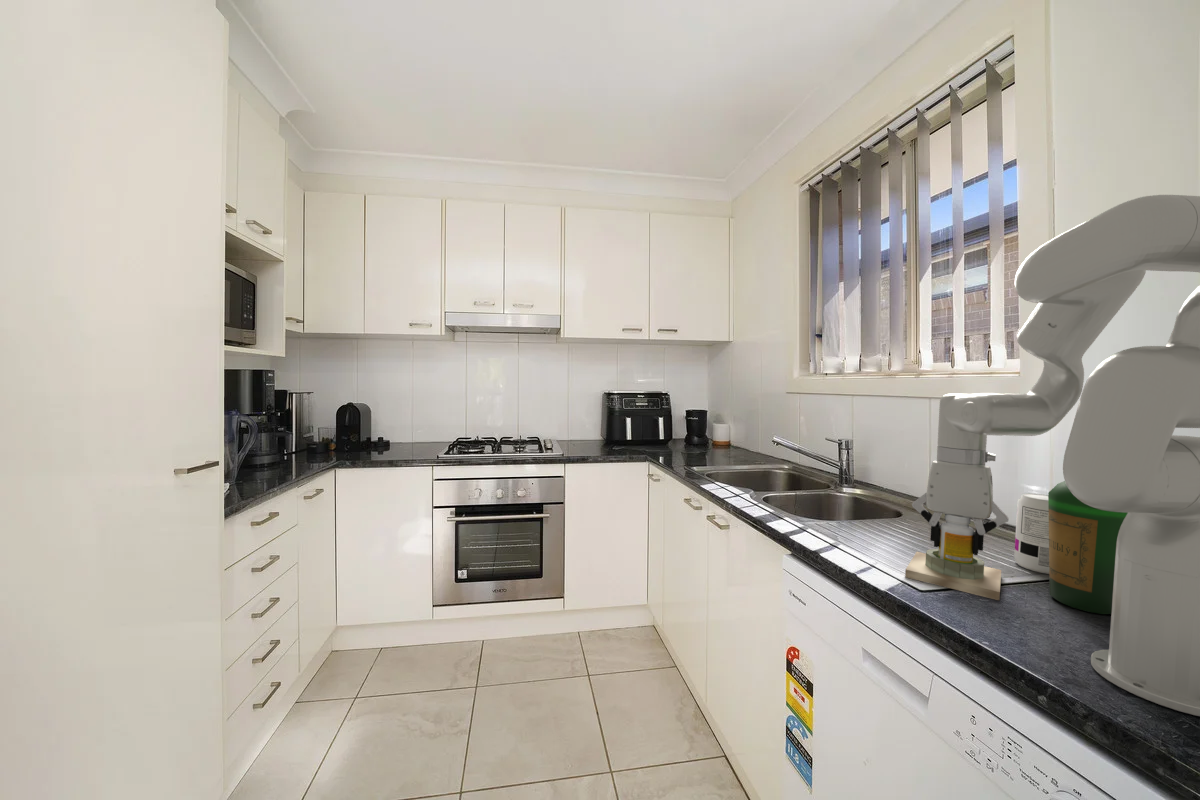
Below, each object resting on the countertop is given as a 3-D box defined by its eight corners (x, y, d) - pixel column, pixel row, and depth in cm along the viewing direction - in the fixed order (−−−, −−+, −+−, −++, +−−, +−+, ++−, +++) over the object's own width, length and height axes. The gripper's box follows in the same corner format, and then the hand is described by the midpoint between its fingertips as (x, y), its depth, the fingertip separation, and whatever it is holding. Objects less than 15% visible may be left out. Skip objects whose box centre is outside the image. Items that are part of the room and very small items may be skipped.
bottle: (1036, 585, 89) (1045, 439, 88) (1117, 602, 83) (1128, 444, 82) (1047, 606, 80) (1058, 444, 79) (1139, 626, 74) (1152, 451, 73)
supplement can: (1004, 559, 103) (1008, 491, 103) (1046, 562, 102) (1050, 493, 101) (1032, 574, 95) (1037, 500, 94) (1078, 577, 94) (1083, 503, 93)
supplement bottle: (979, 569, 89) (982, 518, 89) (951, 568, 89) (953, 517, 89) (958, 559, 94) (961, 511, 94) (931, 558, 95) (934, 510, 94)
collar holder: (1000, 577, 93) (1002, 557, 93) (999, 600, 82) (1000, 578, 82) (916, 558, 102) (917, 540, 102) (905, 577, 91) (906, 556, 91)
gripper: (1019, 460, 88) (1014, 555, 89) (911, 450, 100) (907, 534, 100) (1019, 465, 83) (1014, 566, 83) (905, 453, 94) (900, 543, 95)
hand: (955, 548), depth 92 cm, fingers closed on supplement bottle, 5 cm apart
